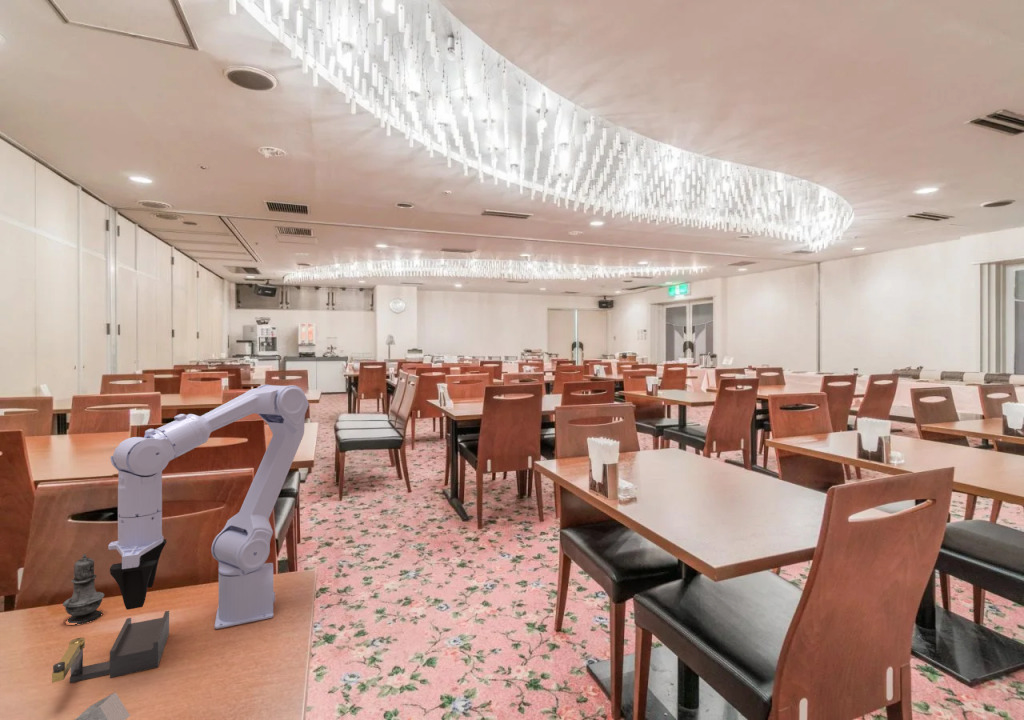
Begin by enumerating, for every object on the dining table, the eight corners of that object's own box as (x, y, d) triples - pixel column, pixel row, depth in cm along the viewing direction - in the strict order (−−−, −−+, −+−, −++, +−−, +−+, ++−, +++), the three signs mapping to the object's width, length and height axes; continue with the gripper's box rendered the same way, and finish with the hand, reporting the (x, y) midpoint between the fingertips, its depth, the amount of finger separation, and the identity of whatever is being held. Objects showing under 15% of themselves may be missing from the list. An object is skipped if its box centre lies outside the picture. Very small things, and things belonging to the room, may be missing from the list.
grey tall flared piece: (80, 628, 90) (80, 561, 90) (54, 624, 91) (54, 558, 91) (112, 612, 96) (112, 549, 96) (87, 609, 97) (87, 546, 97)
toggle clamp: (169, 633, 88) (169, 610, 88) (157, 667, 78) (157, 641, 78) (87, 649, 83) (88, 625, 83) (65, 688, 73) (65, 660, 73)
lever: (66, 679, 69) (66, 665, 69) (48, 683, 68) (48, 668, 68) (86, 644, 77) (86, 631, 77) (71, 647, 76) (71, 634, 76)
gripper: (120, 504, 85) (120, 584, 85) (95, 529, 73) (95, 623, 72) (170, 499, 89) (169, 576, 89) (155, 522, 76) (154, 612, 76)
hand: (140, 597), depth 81 cm, fingers open, 7 cm apart
